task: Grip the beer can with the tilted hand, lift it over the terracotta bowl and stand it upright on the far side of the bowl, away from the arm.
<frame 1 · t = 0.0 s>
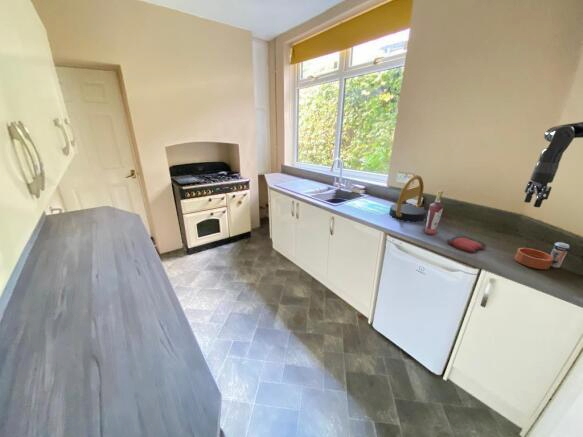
hand: (531, 204, 115), 28 cm above the counter, tool pointing down, fingers open, 8 cm apart
liquor: (429, 233, 150), on the counter
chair: (406, 216, 179), on the counter
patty: (465, 246, 135), on the counter
beer can: (552, 265, 116), on the counter
bowl: (530, 263, 117), on the counter
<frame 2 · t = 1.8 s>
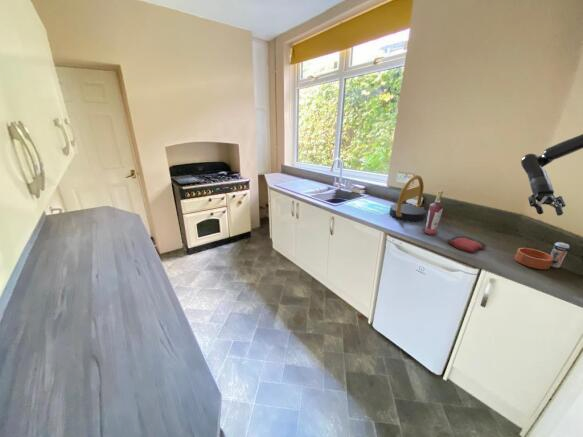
hand: (550, 214, 119), 23 cm above the counter, tool tilted 45°, fingers open, 8 cm apart
nothing on the counter moved.
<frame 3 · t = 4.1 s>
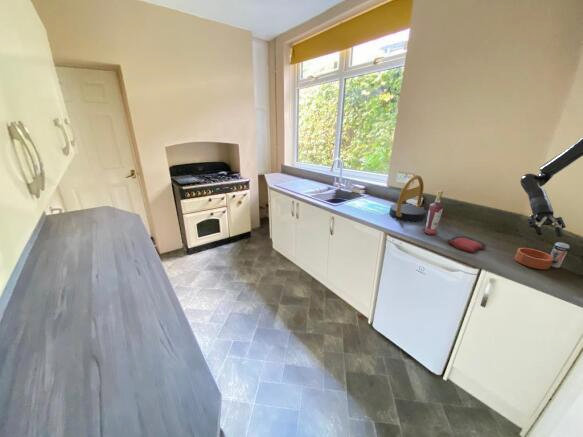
hand: (550, 235, 118), 13 cm above the counter, tool tilted 45°, fingers open, 8 cm apart
nothing on the counter moved.
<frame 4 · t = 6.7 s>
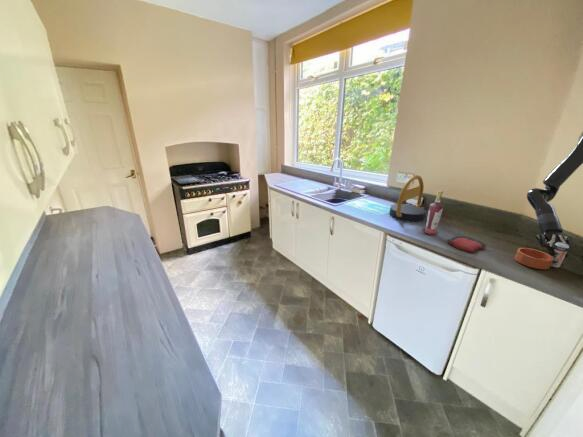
hand: (559, 256, 112), 6 cm above the counter, tool tilted 45°, fingers closed on beer can, 5 cm apart
beer can: (552, 265, 116), on the counter, touching gripper
everything else where it was.
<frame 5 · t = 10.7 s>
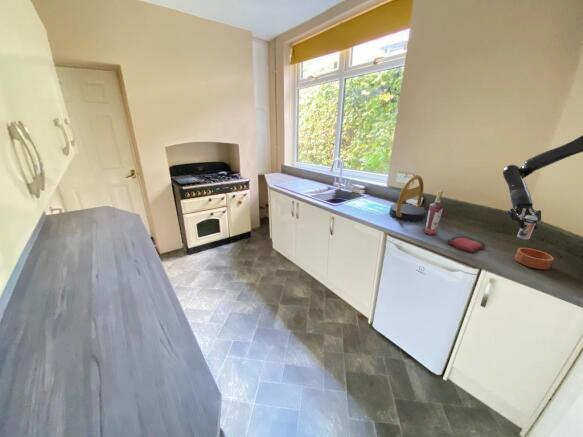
hand: (529, 228, 118), 16 cm above the counter, tool tilted 45°, fingers closed on beer can, 5 cm apart
beer can: (522, 238, 121), point 10 cm above the counter, touching gripper
everything else where it was.
when the fingers open (6 cm above the counter, at t = 14.6 s): beer can stays where it is, on the counter.
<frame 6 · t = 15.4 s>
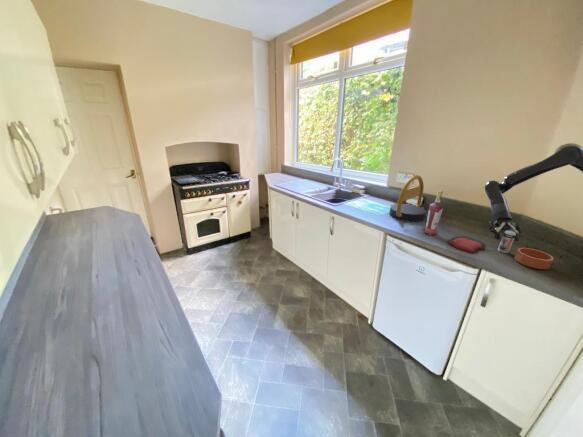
hand: (507, 240, 125), 7 cm above the counter, tool tilted 45°, fingers open, 8 cm apart
beer can: (502, 251, 129), on the counter
everything else where it was.
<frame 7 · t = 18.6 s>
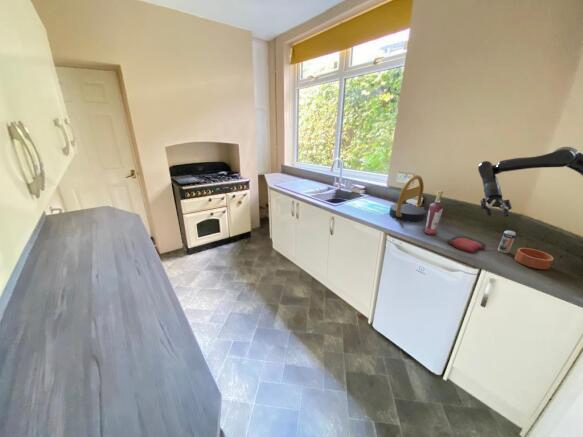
hand: (498, 215, 134), 17 cm above the counter, tool tilted 45°, fingers open, 8 cm apart
nothing on the counter moved.
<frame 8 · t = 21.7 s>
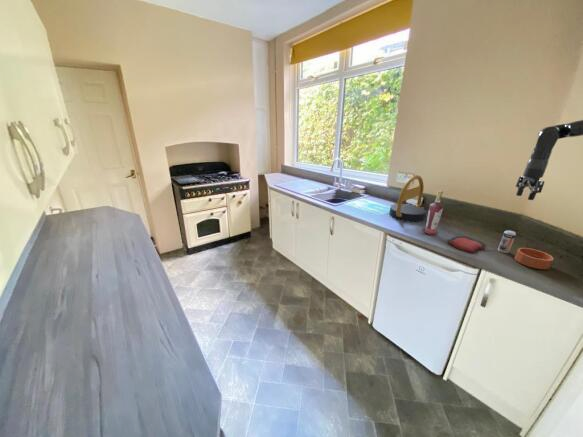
hand: (524, 197, 128), 28 cm above the counter, tool pointing down, fingers open, 8 cm apart
nothing on the counter moved.
at the end: beer can inside the target area on the counter beside the bowl (0.6 cm from its centre), on the counter; beer can tilted 0°; beer can touching counter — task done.
